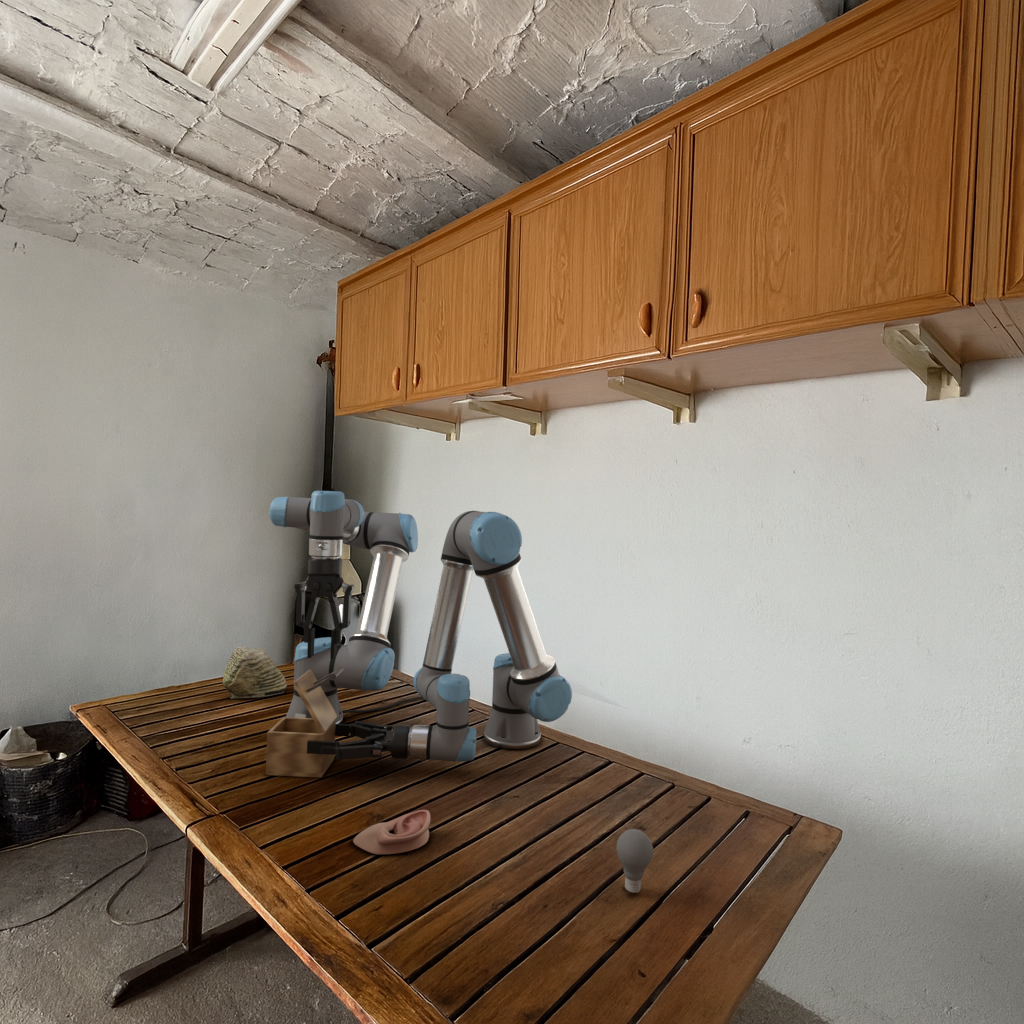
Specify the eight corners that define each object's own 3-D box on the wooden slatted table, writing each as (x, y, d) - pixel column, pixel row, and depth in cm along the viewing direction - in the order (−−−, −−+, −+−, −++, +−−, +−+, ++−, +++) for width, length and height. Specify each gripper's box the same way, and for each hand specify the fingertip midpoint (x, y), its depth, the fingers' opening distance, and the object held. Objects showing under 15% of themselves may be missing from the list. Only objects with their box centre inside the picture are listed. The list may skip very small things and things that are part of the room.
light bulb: (610, 879, 108) (613, 822, 108) (644, 879, 109) (647, 822, 109) (619, 902, 102) (622, 840, 102) (655, 901, 103) (658, 840, 103)
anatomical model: (346, 827, 114) (372, 798, 125) (345, 849, 114) (372, 818, 125) (416, 839, 111) (436, 808, 122) (415, 861, 111) (436, 828, 123)
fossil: (218, 695, 195) (220, 647, 195) (278, 685, 208) (279, 640, 207) (228, 703, 189) (230, 653, 188) (289, 692, 201) (290, 645, 201)
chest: (265, 775, 143) (267, 732, 143) (282, 756, 153) (283, 716, 153) (321, 777, 143) (323, 734, 143) (334, 759, 153) (335, 719, 153)
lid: (292, 683, 142) (325, 664, 142) (307, 671, 153) (338, 653, 153) (321, 733, 143) (354, 714, 142) (334, 718, 153) (365, 700, 153)
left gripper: (281, 557, 143) (278, 659, 144) (360, 560, 143) (356, 662, 144) (292, 554, 151) (289, 651, 151) (367, 557, 151) (363, 654, 151)
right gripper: (400, 779, 136) (298, 774, 136) (416, 739, 159) (328, 735, 159) (402, 744, 136) (299, 740, 136) (418, 709, 159) (329, 705, 159)
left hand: (322, 656), depth 148 cm, fingers open, 5 cm apart
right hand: (315, 737), depth 148 cm, fingers closed on chest, 10 cm apart
